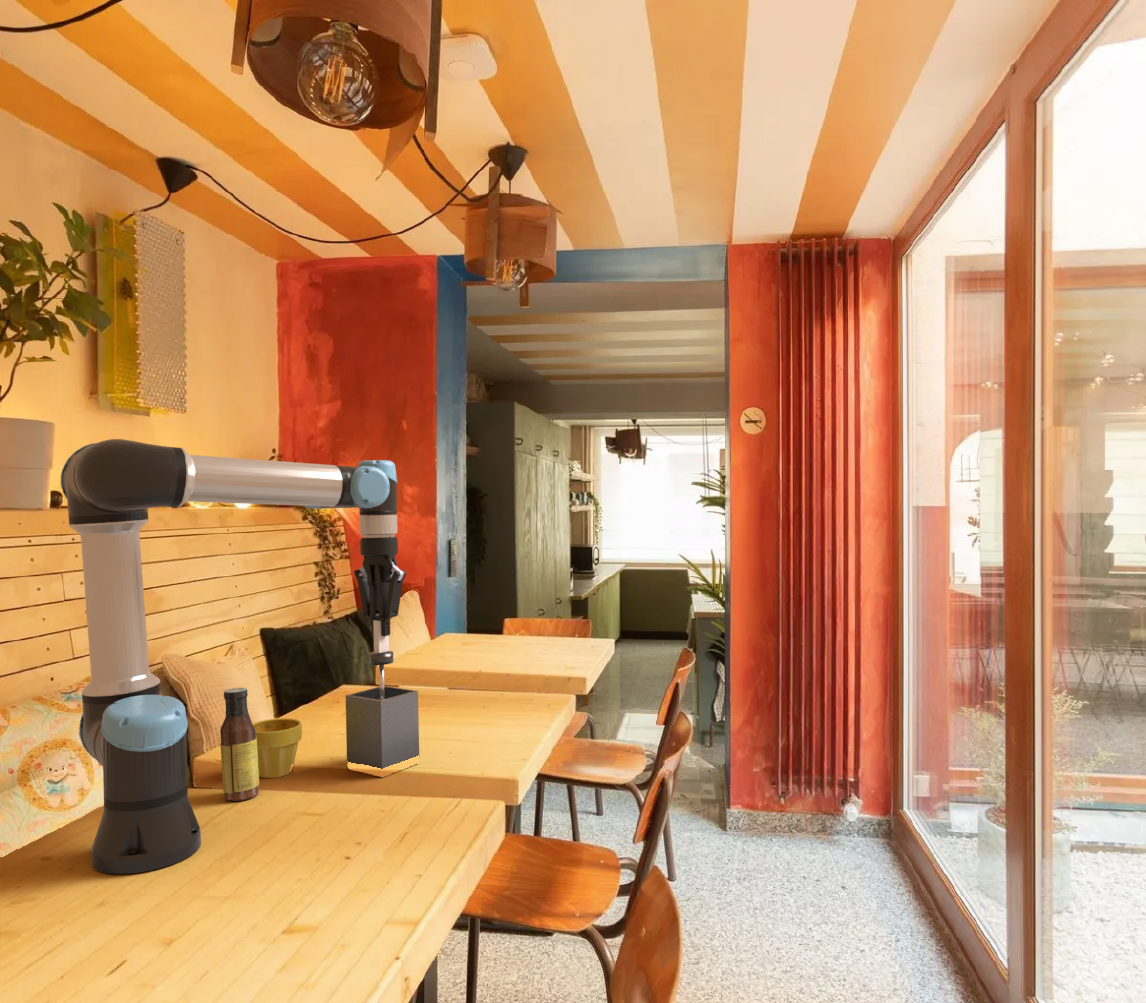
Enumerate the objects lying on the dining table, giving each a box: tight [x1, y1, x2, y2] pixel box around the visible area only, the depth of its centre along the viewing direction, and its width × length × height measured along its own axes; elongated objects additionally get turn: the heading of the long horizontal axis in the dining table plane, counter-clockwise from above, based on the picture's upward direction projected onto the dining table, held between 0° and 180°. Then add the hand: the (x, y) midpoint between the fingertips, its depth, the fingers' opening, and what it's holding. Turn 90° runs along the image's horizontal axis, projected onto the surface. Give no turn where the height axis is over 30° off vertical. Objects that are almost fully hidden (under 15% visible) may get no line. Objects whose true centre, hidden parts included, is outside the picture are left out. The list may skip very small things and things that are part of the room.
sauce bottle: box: [219, 687, 260, 802], centre depth 154 cm, size 7×6×20 cm
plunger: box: [368, 650, 394, 700], centre depth 170 cm, size 8×8×13 cm
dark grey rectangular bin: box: [345, 685, 420, 769], centre depth 171 cm, size 14×10×15 cm
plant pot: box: [252, 717, 303, 779], centre depth 167 cm, size 10×10×10 cm
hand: (381, 651), depth 170 cm, fingers closed
